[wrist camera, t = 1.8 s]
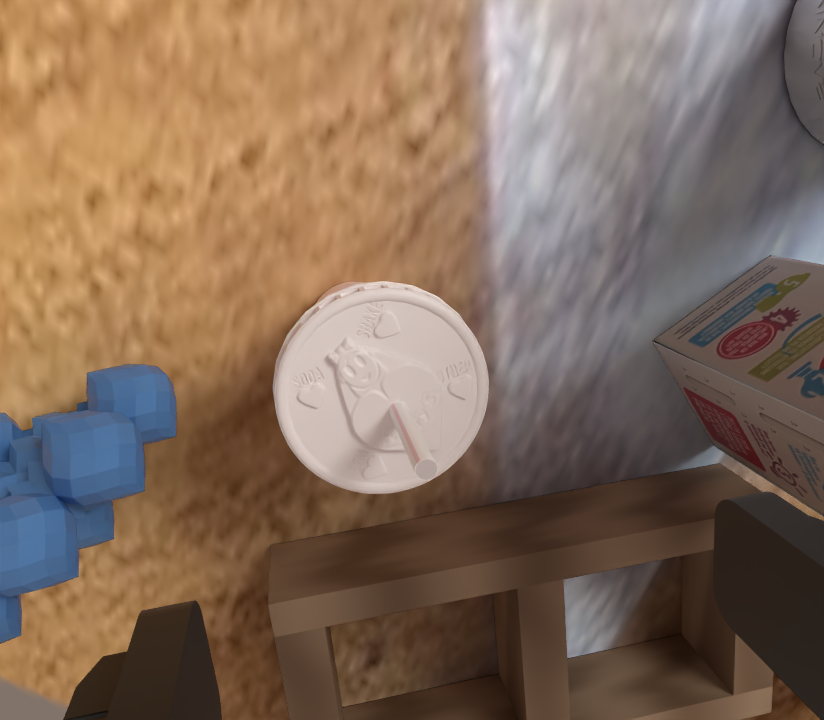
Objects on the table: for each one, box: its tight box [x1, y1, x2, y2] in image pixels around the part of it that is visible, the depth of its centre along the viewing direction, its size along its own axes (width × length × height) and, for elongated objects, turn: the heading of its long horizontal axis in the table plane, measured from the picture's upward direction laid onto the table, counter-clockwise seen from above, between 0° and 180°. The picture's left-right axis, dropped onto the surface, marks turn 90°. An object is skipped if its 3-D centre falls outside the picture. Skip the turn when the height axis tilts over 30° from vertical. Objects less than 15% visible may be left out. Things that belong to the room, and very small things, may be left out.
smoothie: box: [272, 281, 489, 494], centre depth 23 cm, size 6×6×14 cm
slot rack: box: [268, 463, 773, 720], centre depth 32 cm, size 22×11×4 cm, turn 96°
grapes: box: [0, 364, 177, 644], centre depth 23 cm, size 12×7×12 cm, turn 137°
